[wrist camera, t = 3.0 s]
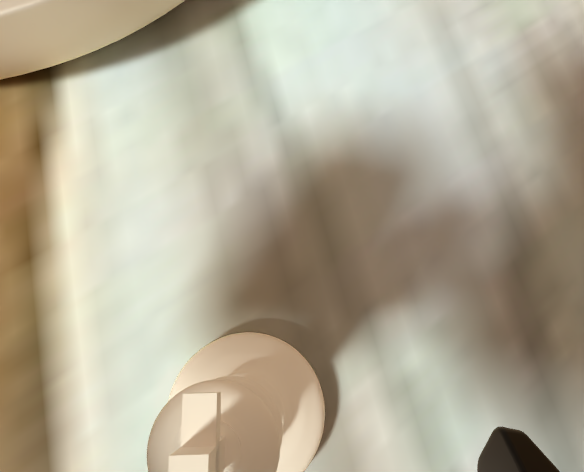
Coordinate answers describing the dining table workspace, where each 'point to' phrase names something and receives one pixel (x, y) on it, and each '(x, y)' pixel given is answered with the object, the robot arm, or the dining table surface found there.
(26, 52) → the bowl
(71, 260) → the dining table surface
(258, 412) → the chess piece
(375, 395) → the dining table surface
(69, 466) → the dining table surface
